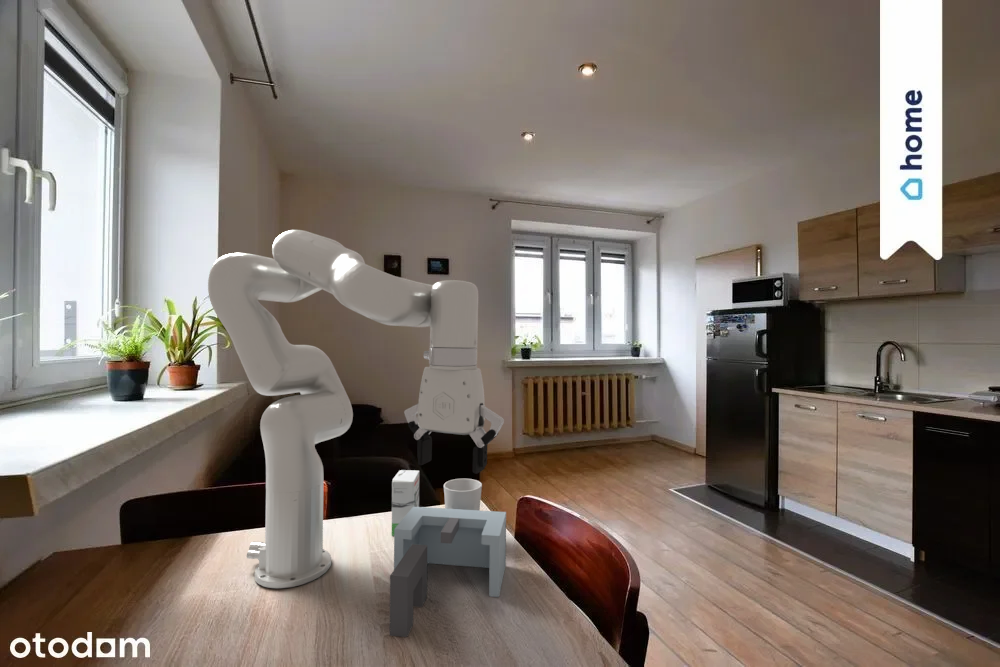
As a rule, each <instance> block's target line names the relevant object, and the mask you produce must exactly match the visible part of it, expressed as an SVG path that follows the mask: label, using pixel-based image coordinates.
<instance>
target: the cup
mask: <svg viewBox="0 0 1000 667" xmlns="http://www.w3.org/2000/svg"><path fill="white" fill-rule="evenodd" d="M482 488H483V483H482V482H481V481H479V480H477V479H472V478H455V479H450V480H448V481H446V482H445V483H444V484H443V493H444V508H446V509H463V510H480V511H481V509H480V508H481V499H482Z"/></svg>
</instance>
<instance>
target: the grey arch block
mask: <svg viewBox="0 0 1000 667" xmlns="http://www.w3.org/2000/svg"><path fill="white" fill-rule="evenodd" d="M389 578H390V579H389V632H388V633H389V636H392V637H402V638H408V636H409V634H410V633H411V630H412V628H413V626H414V607H417V608H418V607H419V608H423V606H424V604H425V602H426V600H427V599H428V563H427V545H418V544H412V545H411V546H410V548H409V549H408V551H407V552H406V554H405V555H404V556H403V558H402V559H401V561H400V562H399V564H398V565H397V567H396V568H395V569H394V568H393V570H392V573H391V574H390V575H389Z"/></svg>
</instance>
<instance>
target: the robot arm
mask: <svg viewBox="0 0 1000 667" xmlns="http://www.w3.org/2000/svg"><path fill="white" fill-rule="evenodd" d="M271 251H272V252H271V253H272V257H273V258H272V257H267V256H263V255H258V254H252V253H245V252H234V253H233V252H232V253H228V254H224V255H222V256H220V257H218V259H216V260H215V262H213V264H212V266H211V268H210V271H209V275H208V280H207V290H208V296H209V301H210V304H211V306H212V308H213V310H214V313H215V314H216V316H217V318H218V319H219V321H220V322H221V324H222V325H223V327H224V328H225V330H226V332H227V333H228V335H229V337H230V340H231V341H232V344H233V346H234V349H235V352H236V354H237V355H238V358H239V360H240V363H241V365H242V367H243V369H244V372H245V375H246V376H247V379H248V381H249V382H250V385H251V386H252V388H253V390H254V391H255V392H256V393H257V394H260V395H261V396H267V397H269V396H270V397H273V396H281V395H282V396H284V395H288V394H295V393H296V395H291V396H287V397H286V396H285V397H283V398H281V399H278V400H276V401H273V402H272V403H271V404H270V405H269V406H268V407H267V408H265V410H264V412H263V413H262V415H261V419H260V423H259V425H260V426H259V429H260V436H261V440H262V444H263V450H264V458H265V528H264V530H265V532H264V534H265V535H264V538H265V539H264V541H252V542H251V543H250V545H249V547H248V548H249V549H248V551H247V553H246V559H251V560H255V559H256V560H258V565H257V567H255V569H254V570H255V571H254V580H255V582H256V583H257V584H258V585H260V586H262V587H264V588H269V589H287V588H288V589H289V588H293V587H297V586H301V585H305V584H308V583H310V582H312V581H315V580H317V579H318V578H320V577H321V576H323V575H324V574H325V573H326V572H327V571H329V569H330V568H331V565H332V555H331V553H330V552H329V551H327V550H326V549H323V546H324V545H323V543H324V542H323V541H324V540H323V537H324V531H323V530H324V465H323V462H322V459H321V457H320V455H319V454H318V452H317V449H316V447H315V446H316V445H317V444H319V443H321V442H325V441H329V440H331V439H334V438H337V437H341V436H342V435H344V434H345V433H346V432H348V430H349V429H350V428H351V425H352V423H353V417H354V412H353V407H352V403H351V400H350V398H349V396H348V394H347V392H346V389H345V387H344V385H343V384H342V381H341V378H340V377H339V375H338V373H337V370H336V368H335V366H334V364H333V362H332V360H331V359H330V357H329V356H328V355H327V353H325V352H324V351H323V350H322V349H320V348H318V347H317V346H314V345H309V344H292V343H290V342H289V341H288V339H287V337H286V336H285V333H284V332H283V330H282V327H281V325H280V323H279V322H278V320H277V319H276V317H275V316H274V315H273V314H272V313H271V312H270V311H269V310H268V309H267V308H266V307H264V306H263V305H262V304H261V303H260V302H259V301H269V302H278V303H295V302H299V301H301V300H303V299H306V298H307V297H310V296H311V295H313V294H316V293H318V292H320V291H322V290H323V291H325V292H327V293H329V294H331V295H333V297H334V298H335V299H336V300H337V301H338V302H339V303H340V304H341V305H342V306H344V307H345V308H347V309H349V310H351V311H353V312H355V313H356V314H359V315H361V316H364V318H368V319H370V320H372V321H374V322H376V323H378V324H379V323H380V324H382V325H386V326H394V327H397V326H398V327H409V328H428V327H429V331H430V332H429V346H428V350H425V351H423V356H422V357H423V358H424V359H425V360H428V364H429V366H425V367H424V369H423V372H422V376H421V380H420V381H421V382H420V386H419V393H418V394H419V395H418V403H416V404H414V405H412V406H411V407H408V408H407V409H405V410H404V411H403V413H404V417H405V419H406V422H407V423H408V424H407V425H408V426H407V427H408V428H409V430H410V431H411V432H412V434H413V438H414V439H415V440H416V441H417V442H416V443H417V444H416V457H417V464H418V466H423V465H425V464H427V463H430V462H431V461H432V459H433V458H432V456H433V437H432V436H430V434H431V433H432V432H435V433H441V434H442V433H443V434H451V435H452V434H453V435H460V436H461V435H462V436H467V435H469V436H470V437H471V439H472V440H473V442H474V443H475V446H474V447H473V448H472V473H473V474H480V472H482V471H483V470H485V469H486V467H487V464H488V445H489V444H490V443H491V442H492V441H494V439H495V438H496V437H497V436H498V435H499V432H500V430H501V429H502V427H503V425H504V423H505V419H504V418H503V417H502V416H501V415H499V414H497V412H494V411H493V410H491V409H490V408H489V407H487V406H486V405H485V403H486V401H485V390H484V389H485V388H484V387H485V386H484V381H483V376H482V370H481V368H478V337H479V335H478V332H479V331H478V329H479V328H478V327H479V289H478V286H477V285H476V284H475V283H473V282H470V281H466V280H457V279H456V280H454V279H448V280H445V279H444V280H440V281H439V280H438V281H437V282H435V283H433V284H429V283H424V282H419V281H415V280H412V279H408V278H404V277H400V276H397V275H396V276H395V275H393V274H390V273H387V272H385V271H383V270H382V269H381V270H380V269H378V268H375V267H373V266H371V265H369V264H367V263H366V262H365V259H364V258H363V256H362V255H361V254H360V253H358V252H357V251H355V250H353V249H350V248H347V247H345V246H344V245H343V244H342V243H340V242H339V241H337V240H335V239H332V238H329V237H326V236H323V235H319V234H318V233H317V234H316V233H313V232H309V231H307V230H302V229H290V230H286V231H284V232H282V233H281V234H279V235H278V236H277V237H275V239H274V241H273V244H272V248H271ZM297 393H299V394H298V395H297ZM486 420H487V421H488V422H490V427H489V430H488V431H487V432H486V430H485V429H484V426H485V424H486V423H485V422H486Z"/></svg>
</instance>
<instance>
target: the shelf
mask: <svg viewBox="0 0 1000 667" xmlns="http://www.w3.org/2000/svg"><path fill="white" fill-rule="evenodd" d="M393 537H394V538H393V542H394V543H393V570H394V569H395V568H396V567H397V565H398V564H399V562H400V561H401V559H402V558H403V556H404V555H405V554H406V552H407V551H408V549H409V548H410V546H411V545H412V544H418V545H427V564H433V565H448V566H458V567H459V566H461V567H473V568H487V569H489V572H488V573H489V574H488V576H489V577H488V578H489V582H488V583H489V585H488V589H489V590H488V591H489V592H488V593H489V594H488V595H489V597H491V598H492V597H494V598H500V594H501V590H502V584H503V580H504V575H505V571H506V566H507V565H506V564H507V562H506V560H507V558H506V557H507V551H506V550H507V511H494V510H493V511H492V510H481V509H480V510H463V509H446V508H445V507H443V508H441V507H427V506H419V507H413V508H412V509H411V510H410V511H409V512H408V514H407V515H406V516H405V517H404V518H403V519H402V521H401V522H400V523H399V524H398V525H397V527H396V528H395V529H394V536H393Z"/></svg>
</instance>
